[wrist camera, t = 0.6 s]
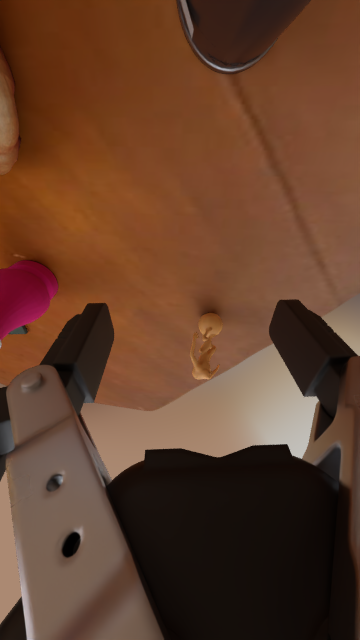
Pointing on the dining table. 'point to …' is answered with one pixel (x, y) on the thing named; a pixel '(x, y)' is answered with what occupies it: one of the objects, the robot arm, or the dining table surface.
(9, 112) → the ceramic vessel
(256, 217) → the dining table surface
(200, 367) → the figurine
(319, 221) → the dining table surface
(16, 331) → the mat
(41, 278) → the pepper mill
